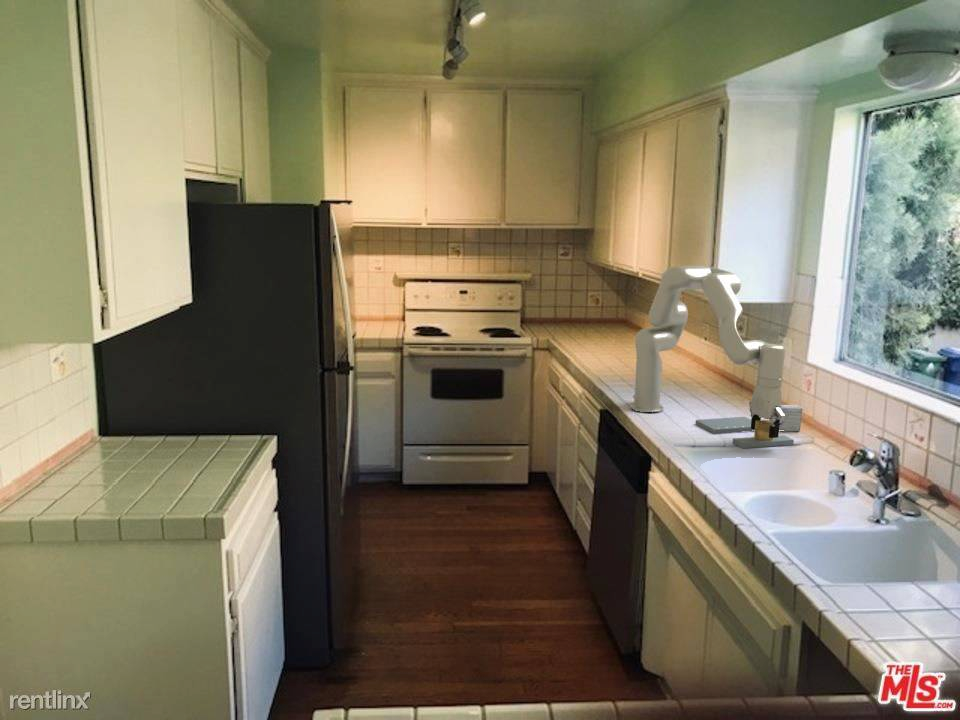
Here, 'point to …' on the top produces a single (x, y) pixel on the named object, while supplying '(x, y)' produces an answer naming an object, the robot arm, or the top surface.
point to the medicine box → (791, 418)
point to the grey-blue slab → (762, 437)
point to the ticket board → (725, 425)
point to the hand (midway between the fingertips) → (764, 433)
